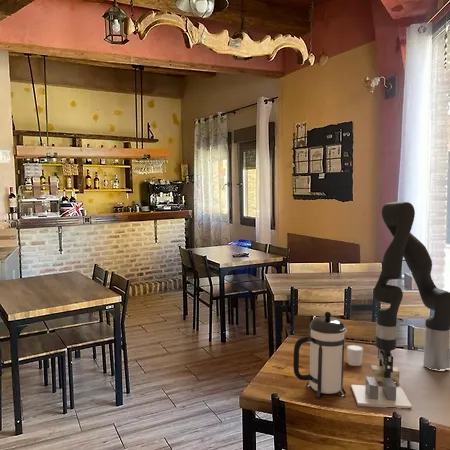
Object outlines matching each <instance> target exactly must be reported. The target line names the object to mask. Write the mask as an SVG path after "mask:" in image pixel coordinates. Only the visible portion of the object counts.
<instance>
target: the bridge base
mask: <svg viewBox="0 0 450 450" xmlns="http://www.w3.org/2000/svg"><path fill="white" fill-rule="evenodd" d="M350 385H351V386H350V387H351V390H352V392H353V393H352V394H353V397H354V399H355V402H356V405H357V406H358V407H372V408H386V407H397V408H396V409H401V408H412V409H413V404H412V403H411V402H410V401H409V398H408V396H407V395H406V394H405V392H404V390H403V388H402V387H399V386H397V385H396V383H394V382H393V380H392V378H383V382H382V385H381V386H379V382H377V381H376V379H375V377H371V376H365V384H362V385H361V384H350Z"/></svg>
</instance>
